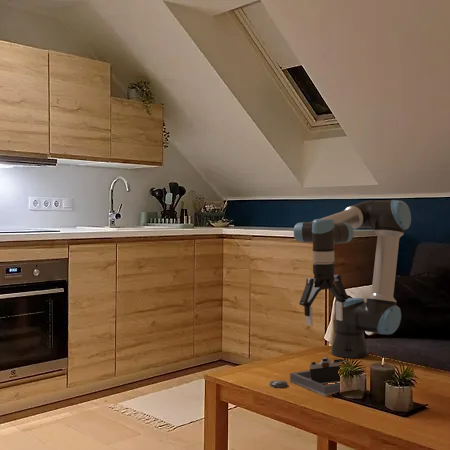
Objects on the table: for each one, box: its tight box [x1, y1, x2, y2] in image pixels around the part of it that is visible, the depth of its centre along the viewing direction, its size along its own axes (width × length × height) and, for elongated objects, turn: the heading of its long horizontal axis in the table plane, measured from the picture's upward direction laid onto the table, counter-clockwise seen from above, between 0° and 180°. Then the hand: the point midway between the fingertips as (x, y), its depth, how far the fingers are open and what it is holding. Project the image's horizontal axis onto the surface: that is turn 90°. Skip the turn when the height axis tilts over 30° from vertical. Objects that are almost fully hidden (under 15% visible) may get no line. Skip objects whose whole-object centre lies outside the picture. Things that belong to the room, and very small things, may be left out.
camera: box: [309, 357, 347, 384], centre depth 208 cm, size 13×8×9 cm, turn 82°
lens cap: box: [269, 379, 288, 389], centre depth 209 cm, size 6×6×2 cm
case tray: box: [289, 369, 340, 397], centre depth 209 cm, size 14×19×3 cm
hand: (324, 322), depth 215 cm, fingers open, 13 cm apart
